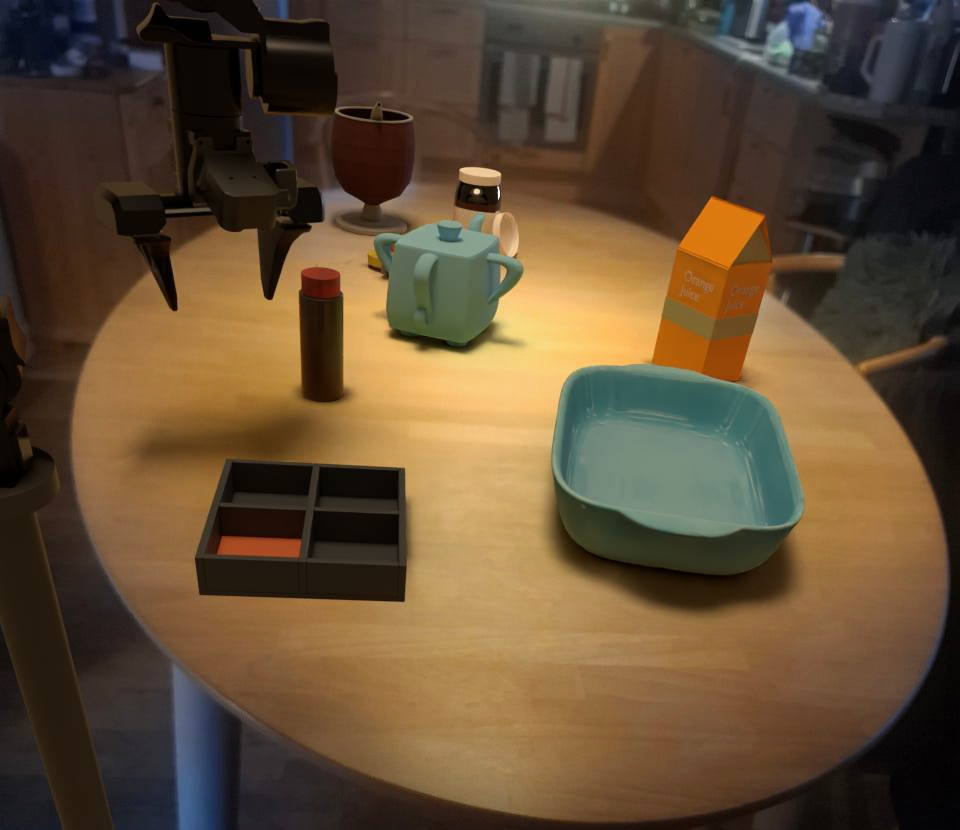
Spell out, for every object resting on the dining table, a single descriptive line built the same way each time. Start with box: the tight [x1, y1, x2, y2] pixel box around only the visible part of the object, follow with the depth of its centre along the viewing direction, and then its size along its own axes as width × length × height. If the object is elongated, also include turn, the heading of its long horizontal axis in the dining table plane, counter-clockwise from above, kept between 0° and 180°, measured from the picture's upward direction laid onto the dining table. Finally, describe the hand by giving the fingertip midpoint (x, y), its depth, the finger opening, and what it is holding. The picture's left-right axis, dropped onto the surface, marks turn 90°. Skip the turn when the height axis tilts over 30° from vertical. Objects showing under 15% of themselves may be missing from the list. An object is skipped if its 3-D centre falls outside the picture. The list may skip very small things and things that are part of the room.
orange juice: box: [651, 195, 774, 382], centre depth 109 cm, size 8×9×20 cm
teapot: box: [373, 213, 525, 347], centre depth 115 cm, size 18×16×14 cm
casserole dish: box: [550, 363, 806, 576], centre depth 86 cm, size 37×22×7 cm, turn 172°
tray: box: [194, 458, 408, 603], centre depth 74 cm, size 16×16×4 cm
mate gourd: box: [330, 101, 416, 237], centre depth 149 cm, size 16×14×20 cm
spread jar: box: [452, 166, 520, 258], centre depth 146 cm, size 12×11×12 cm
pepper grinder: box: [298, 266, 344, 403], centre depth 95 cm, size 5×5×13 cm
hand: (222, 304), depth 82 cm, fingers open, 9 cm apart
